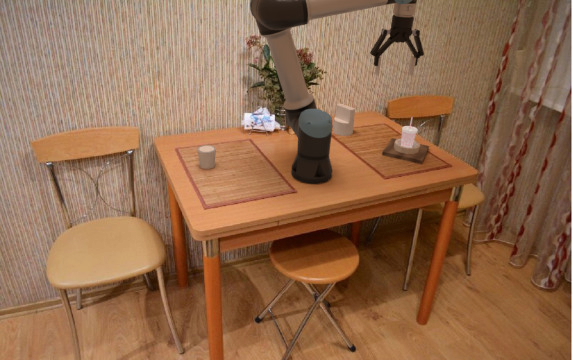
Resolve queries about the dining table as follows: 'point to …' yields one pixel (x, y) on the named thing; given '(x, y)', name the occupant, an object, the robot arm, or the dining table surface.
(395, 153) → the holder
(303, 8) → the robot arm
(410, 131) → the beverage cup
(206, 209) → the dining table surface
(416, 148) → the ring
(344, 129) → the cylinder with rectangular tab
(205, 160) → the gray tapered cup
